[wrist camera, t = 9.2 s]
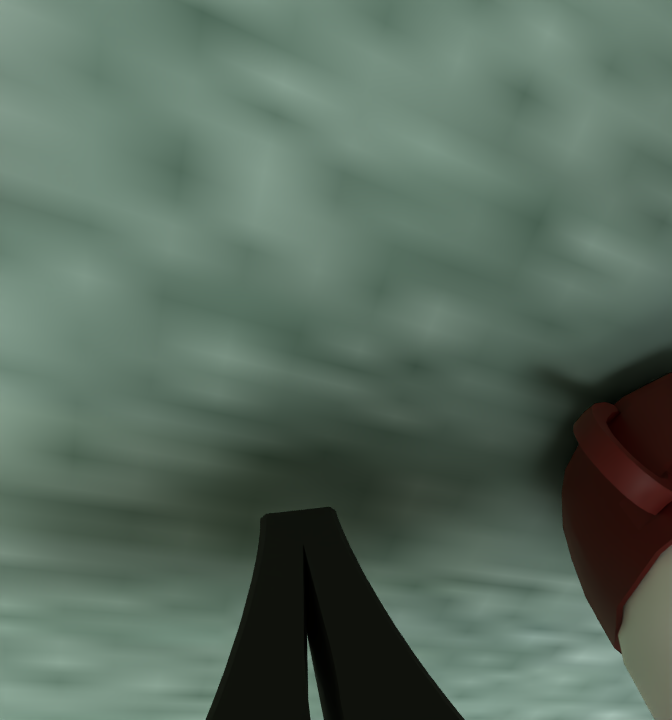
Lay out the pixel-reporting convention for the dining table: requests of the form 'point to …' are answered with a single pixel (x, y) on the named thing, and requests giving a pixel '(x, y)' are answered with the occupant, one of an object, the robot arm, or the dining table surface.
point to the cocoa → (627, 530)
